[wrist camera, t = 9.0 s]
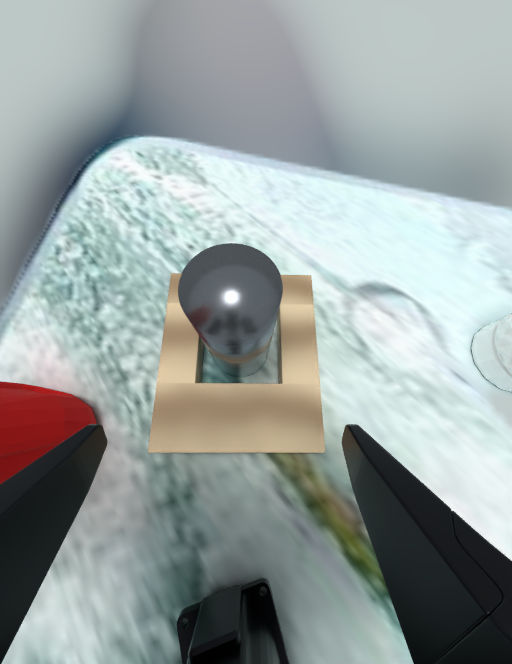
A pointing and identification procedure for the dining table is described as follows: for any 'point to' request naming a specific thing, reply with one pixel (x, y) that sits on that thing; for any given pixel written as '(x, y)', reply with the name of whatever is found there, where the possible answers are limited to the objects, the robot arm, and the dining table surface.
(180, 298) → the pin
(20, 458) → the water bottle
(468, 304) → the dining table surface
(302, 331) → the slot board
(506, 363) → the white cup
